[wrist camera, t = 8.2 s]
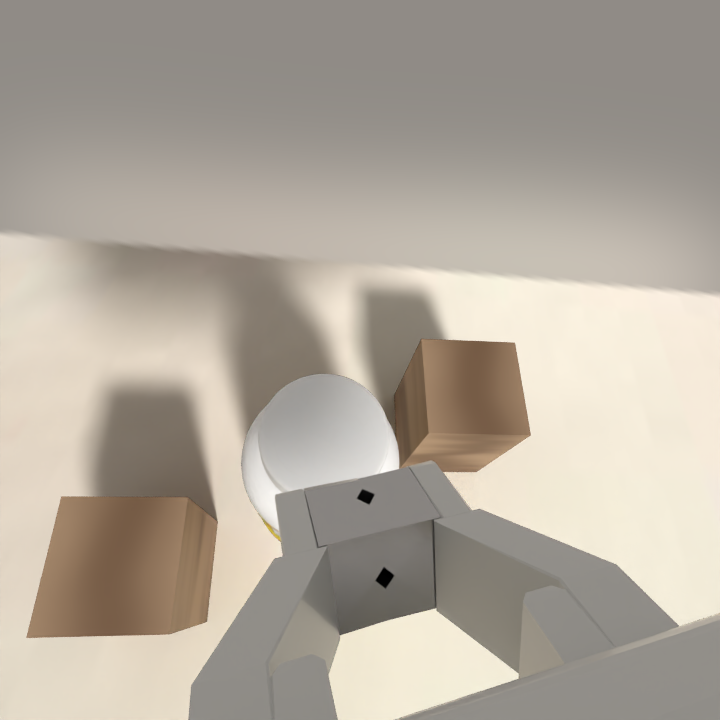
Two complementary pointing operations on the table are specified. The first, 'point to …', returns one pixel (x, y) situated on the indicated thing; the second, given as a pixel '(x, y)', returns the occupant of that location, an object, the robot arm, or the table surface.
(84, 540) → the walnut block one
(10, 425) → the table surface
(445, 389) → the walnut block seven
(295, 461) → the supplement bottle
